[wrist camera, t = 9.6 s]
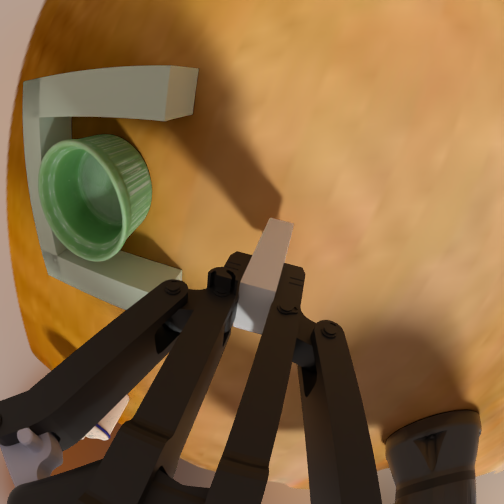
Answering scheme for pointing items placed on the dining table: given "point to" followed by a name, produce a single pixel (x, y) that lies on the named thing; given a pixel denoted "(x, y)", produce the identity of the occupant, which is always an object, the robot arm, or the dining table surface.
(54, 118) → the holder
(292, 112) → the dining table surface
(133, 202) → the ramekin
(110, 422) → the teacup with lid
